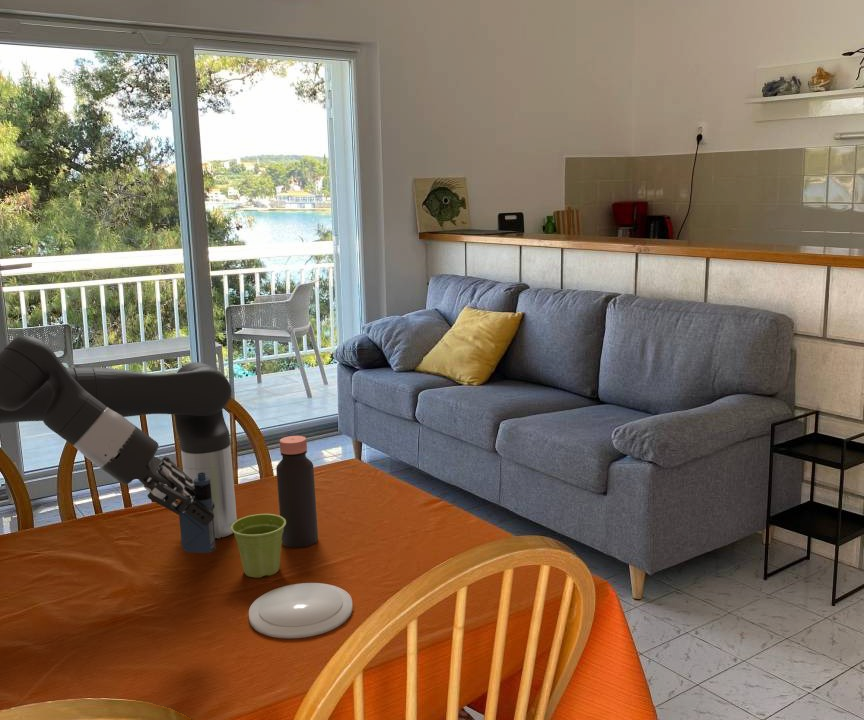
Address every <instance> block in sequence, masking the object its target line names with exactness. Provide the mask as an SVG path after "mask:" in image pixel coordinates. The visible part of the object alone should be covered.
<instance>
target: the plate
mask: <svg viewBox="0 0 864 720" xmlns="http://www.w3.org/2000/svg"><path fill="white" fill-rule="evenodd" d="M352 613H353V599H352V596H351V595H350V594H349V593H348V592H347V591H346V590H344V589H343V588H340V587H338V586H337V585H333V584H328V583H322V582H321V583H319V582H305V583H304V582H302V583H295V584H289V585H284V586H282V587H278V588H275V589H272V590H270V591H268V592H266V593H264V594H261V596H259V597H258V598H256V599H255V600H254V601H253V602H252V604H250V607H249V610H248V620H249V621H248V622H249V624H250V626H251V627H252V628H253V629H254V630H255V631H256V632H258V633H259V634H262V635H265V636H268V637H272V638H277V639H301V638H308V637H313V636H318V635H322V634H325V633H327V632H331V631H332V630H334V629H336V628H338V627H340V626H341V625H342V624H344V623H345V622H347V620H348V619H349V618H350V616H351V615H352Z"/></svg>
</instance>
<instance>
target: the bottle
mask: <svg viewBox="0 0 864 720" xmlns="http://www.w3.org/2000/svg"><path fill="white" fill-rule="evenodd" d="M307 450H308V443H307V437H305V436H302V435H289V436H284V437H282V438H281V439H279V452H280V456H282V459H281V460H280V462H278V463H277V465H276V469H275V471H276V483H277V495H278V498H277V499H278V506H279V507H278V509H279V516H281V517H283V518H284V519H285V520H286V525H285V527H284V531H283V534H282V541H281V544H282V545H284V546H285V547H287V548H290V549H291V548H292V549H301V548H307V547H310V546H312V545H314V544H316V543H317V541H318V539H319V532H318V530H319V527H318V517H317V514H318V513H317V501H316V485H315V469H314V463H313V462H312V461H311V460H310V459H309V458H308V457H307V455H306V454H307V452H308V451H307Z"/></svg>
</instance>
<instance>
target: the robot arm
mask: <svg viewBox="0 0 864 720" xmlns="http://www.w3.org/2000/svg"><path fill="white" fill-rule="evenodd" d="M231 397H232V386H231V383H230V381H229V380H228V378H227V377H226V376H225V375H224V374H223V373H222V372H221V371H219V370H218V369H216V368H214V366H213V367H212V366H211V365H209V364H207V363H204V362H199V361H196V362H189V363H187V364H184V365H183V366H182V367H181V368H179V369H178V370H177V371H176V372H174V373H172V372H171V373H170V372H169V373H146V372H145V373H144V372H139V371H131V370H125V369H119V368H110V367H109V368H108V367H97V366H95V367H93V366H92V367H65V366H64V364H63V363H62V362H61V360H60V359H59V357H58V355H56V353H55V352H54V350H53V349H52V348H51V347H50V346H49V345H48V344H47V343H46V342H44V341H43V340H42V339H39V338H36V337H34V336H30V335H20V336H17V337H15V338H14V339H12V340H11V341H10V342H9V343H8V344H6V346H5V348H3V350H2V351H0V424H7V423H8V424H9V423H23V422H43V424H44V425H45V426H46V427H47V428H48V429H50V430H51V431H52V432H54V433H55V434H57V436H59V437H60V438H61V439H63V440H64V441H66V442H67V443H69V444H70V445H71V446H73V447H74V448H76V450H78V452H80V453H81V454H82V456H84V457H85V458H87V459H88V460H89V461H90V462H91V463H93V464H94V465H95V466H97V467H99V468H100V469H101V470H103V471H104V472H105V473H106V474H108V475H110V477H112V478H114V479H115V480H117V481H118V482H119V483H121V484H122V485H128V484H130V483H132V482H133V480H135V479H137V480H138V481H139V482H140V483H141V484H142V485H143V487H144V489H145V490H147V492H149V493H148V494H147V495H146V497H147V498H148V499H149V500H150V501H153V502H155V503H156V504H157V505H158V504H159V505H160V506H162V507H163V508H165V509H168V510H169V511H171V512H173V513H175V514H176V515H178V516H179V515H181V513H185V512H186V513H187V514H189V515H190V516H191V517H193V518H194V519H195V520H197V521H198V522H199V523H201V524H202V525H204V526H206V525H208V524H209V523H210V522H211V520H212V519H213V521H214V533H215V538H217V539H221V537H222V538H224V537H227V536H230V535H232V534H234V533H233V532H232V531H231V525H232V524H233V523H234V522H235V521H237V520H238V519H237V518H238V517H237V506H236V494H235V481H234V472H233V459H232V449H231V438H230V437H231V435H230V431H229V429H228V426H227V424H226V421H225V417H224V413H223V409H224V408H225V407H226V406H227V405H228V404H229V402H230V399H231ZM144 415H174V421H175V429H176V433H177V435H178V439H179V443H180V453H181V454H180V456H181V462H182V463H181V464H182V469H181V468H180V467H179V466H177V465H176V464H175V463H174V462H173V461H172V460H171V458H170V457H167V456H164V457H163V458H162V459H160V458H158V457H156V456H155V454H156V453H157V452H158V449H159V443H158V442H157V440H155V439H154V438H152V437H151V436H149V435H148V434H147V433H146V432H145V431H143V430H141V429H140V428H139V427H138V426H136V425H135V424H133V423H132V422H130V421H129V420H128V419H127V418H129V417H136V416H144ZM201 472H204V473H205V477H209V478H210V483H211V495H212V503H213V512H214V513H213V512H212V511H211V510H209V509H208V508H207V507H205V506H204V505H203V504H201V503H200V502H199V501H197V500H195V499H194V497H195V489H194V480H195V479H196V478H198V473H201ZM193 496H194V497H193ZM178 500H179V502H178Z"/></svg>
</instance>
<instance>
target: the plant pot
mask: <svg viewBox="0 0 864 720" xmlns="http://www.w3.org/2000/svg"><path fill="white" fill-rule="evenodd" d="M285 525H286V520H285V519H284V518H283V517H281V516H280V515H278V514H273V513H258V514H251V515H246V516H244V517H241V518H239V519H237V521H235V522H234V523H233V524H232V525H231V531H232V532H233V533H232V534H234V538H235V539H236V542H237V546H238V552H239V556H240V560H241V561H240V562H241V564H242V569H243V572H244V574H245V575H246V576H247V577H250V578H257V579H259V578H262V577H265V576H273V575H274V574H276V573H277V572H278V571H280V567H281V550H282V534H283V531H284V527H285Z"/></svg>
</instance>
